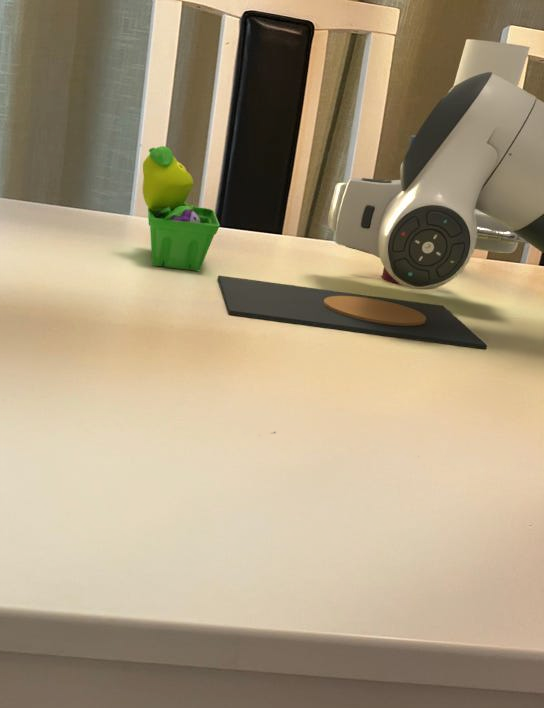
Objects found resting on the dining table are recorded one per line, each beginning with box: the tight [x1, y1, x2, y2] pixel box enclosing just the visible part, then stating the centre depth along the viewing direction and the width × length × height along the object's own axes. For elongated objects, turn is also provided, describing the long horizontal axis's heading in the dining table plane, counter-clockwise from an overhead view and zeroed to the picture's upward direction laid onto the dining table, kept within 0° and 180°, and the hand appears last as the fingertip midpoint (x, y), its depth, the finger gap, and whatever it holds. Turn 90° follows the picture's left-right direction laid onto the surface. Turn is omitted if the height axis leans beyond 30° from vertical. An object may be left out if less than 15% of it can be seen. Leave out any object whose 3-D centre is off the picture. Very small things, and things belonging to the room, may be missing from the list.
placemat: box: [217, 275, 488, 350], centre depth 99 cm, size 24×16×1 cm, turn 86°
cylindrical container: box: [452, 38, 531, 87], centre depth 124 cm, size 7×7×25 cm
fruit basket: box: [142, 145, 221, 272], centre depth 109 cm, size 11×9×11 cm
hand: (424, 209), depth 114 cm, fingers open, 8 cm apart
